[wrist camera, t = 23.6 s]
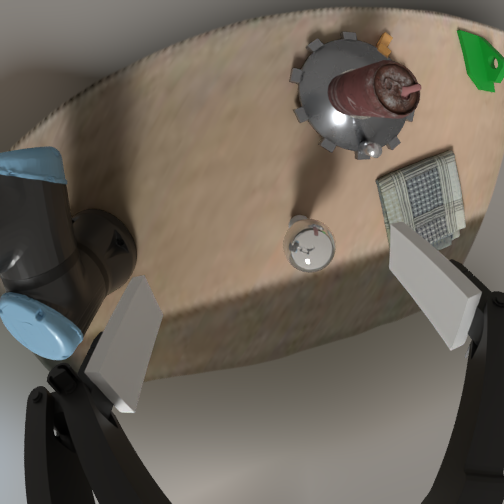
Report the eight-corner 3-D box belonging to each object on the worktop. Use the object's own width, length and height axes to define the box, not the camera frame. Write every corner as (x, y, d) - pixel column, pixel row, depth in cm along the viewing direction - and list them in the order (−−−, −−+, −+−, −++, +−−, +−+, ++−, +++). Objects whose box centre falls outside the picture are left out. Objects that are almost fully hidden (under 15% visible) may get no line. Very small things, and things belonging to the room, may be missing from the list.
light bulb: (309, 247, 46) (328, 288, 35) (269, 235, 45) (279, 275, 34) (325, 208, 43) (352, 241, 32) (284, 195, 42) (300, 224, 31)
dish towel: (371, 177, 41) (379, 182, 38) (448, 148, 38) (459, 151, 35) (391, 267, 49) (398, 276, 46) (458, 233, 46) (467, 240, 43)
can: (374, 106, 33) (432, 108, 20) (338, 121, 34) (386, 127, 22) (356, 68, 30) (410, 52, 18) (318, 82, 31) (360, 67, 19)
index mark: (382, 50, 31) (385, 49, 30) (375, 45, 30) (378, 44, 29) (389, 39, 30) (392, 37, 29) (382, 33, 29) (385, 32, 28)
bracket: (455, 31, 27) (478, 26, 21) (479, 38, 26) (501, 36, 20) (468, 87, 32) (492, 89, 26) (490, 91, 32) (513, 94, 26)
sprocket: (346, 183, 40) (358, 191, 35) (260, 80, 32) (262, 74, 28) (429, 115, 34) (446, 117, 30) (357, 14, 27) (370, 5, 23)
